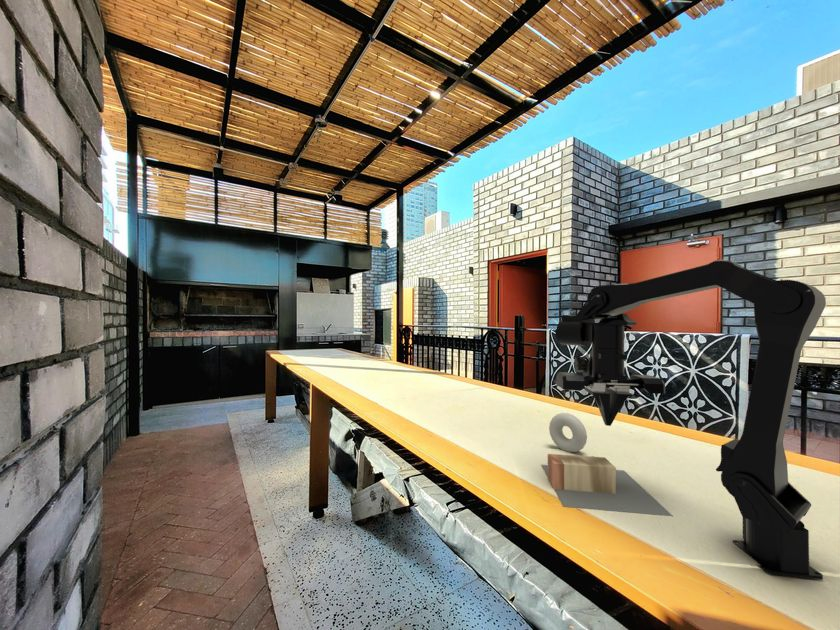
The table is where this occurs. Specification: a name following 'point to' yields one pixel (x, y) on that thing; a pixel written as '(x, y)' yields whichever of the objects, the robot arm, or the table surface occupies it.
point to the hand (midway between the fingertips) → (607, 425)
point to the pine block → (581, 473)
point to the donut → (576, 427)
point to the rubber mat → (613, 498)
